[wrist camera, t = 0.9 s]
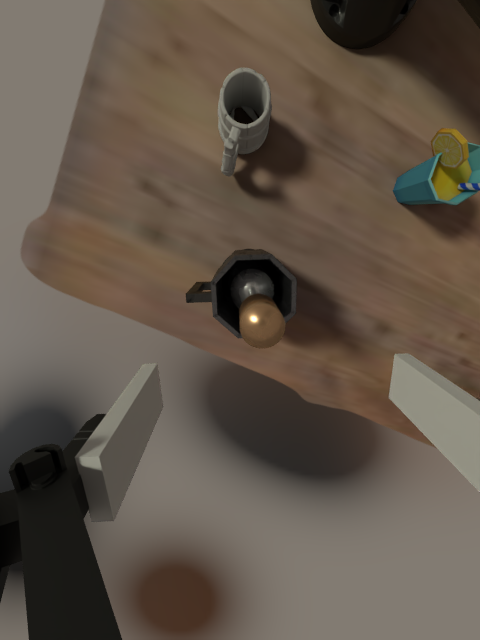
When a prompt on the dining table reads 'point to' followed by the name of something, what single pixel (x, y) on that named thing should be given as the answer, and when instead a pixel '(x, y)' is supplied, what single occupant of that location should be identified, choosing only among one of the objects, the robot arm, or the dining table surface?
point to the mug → (251, 96)
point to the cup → (442, 173)
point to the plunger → (257, 308)
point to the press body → (223, 279)
